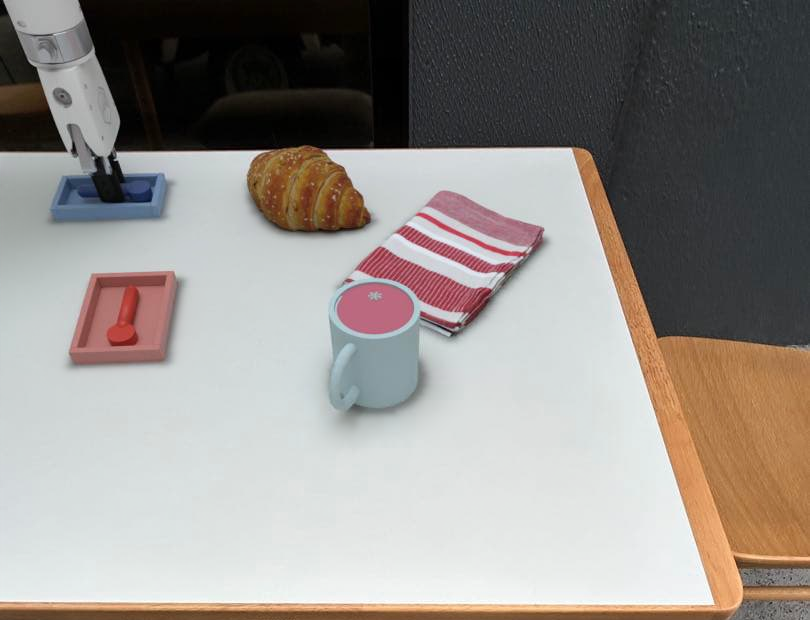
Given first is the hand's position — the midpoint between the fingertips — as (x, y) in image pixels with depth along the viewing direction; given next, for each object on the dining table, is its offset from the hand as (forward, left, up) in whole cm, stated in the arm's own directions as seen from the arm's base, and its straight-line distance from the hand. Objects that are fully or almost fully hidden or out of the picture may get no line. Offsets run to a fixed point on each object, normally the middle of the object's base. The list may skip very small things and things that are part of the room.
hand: (114, 195), depth 91 cm
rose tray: (+5, -25, -1) cm, 26 cm away
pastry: (+25, -2, -2) cm, 26 cm away
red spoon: (+5, -26, -1) cm, 26 cm away
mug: (+33, -38, -2) cm, 51 cm away
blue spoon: (0, 0, 0) cm, 1 cm away
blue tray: (-1, 0, -1) cm, 1 cm away
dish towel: (+44, -16, -2) cm, 47 cm away
